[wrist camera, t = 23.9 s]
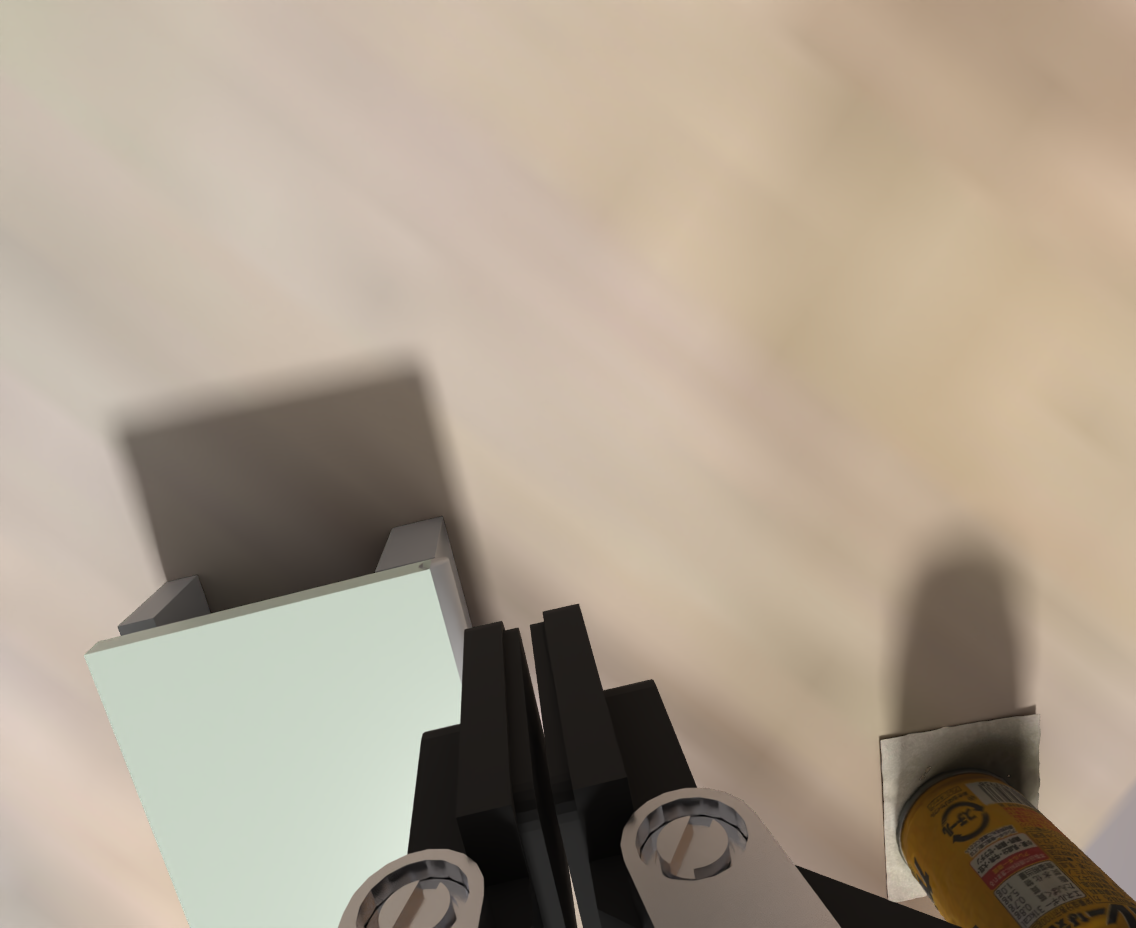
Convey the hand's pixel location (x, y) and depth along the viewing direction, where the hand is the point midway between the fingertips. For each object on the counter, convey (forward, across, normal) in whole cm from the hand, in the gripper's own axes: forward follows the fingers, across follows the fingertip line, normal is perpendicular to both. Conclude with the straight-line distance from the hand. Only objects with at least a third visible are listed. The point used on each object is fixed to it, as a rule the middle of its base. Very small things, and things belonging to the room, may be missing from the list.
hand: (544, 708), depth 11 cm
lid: (+14, +8, +9) cm, 19 cm away
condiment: (+19, -16, +22) cm, 33 cm away
